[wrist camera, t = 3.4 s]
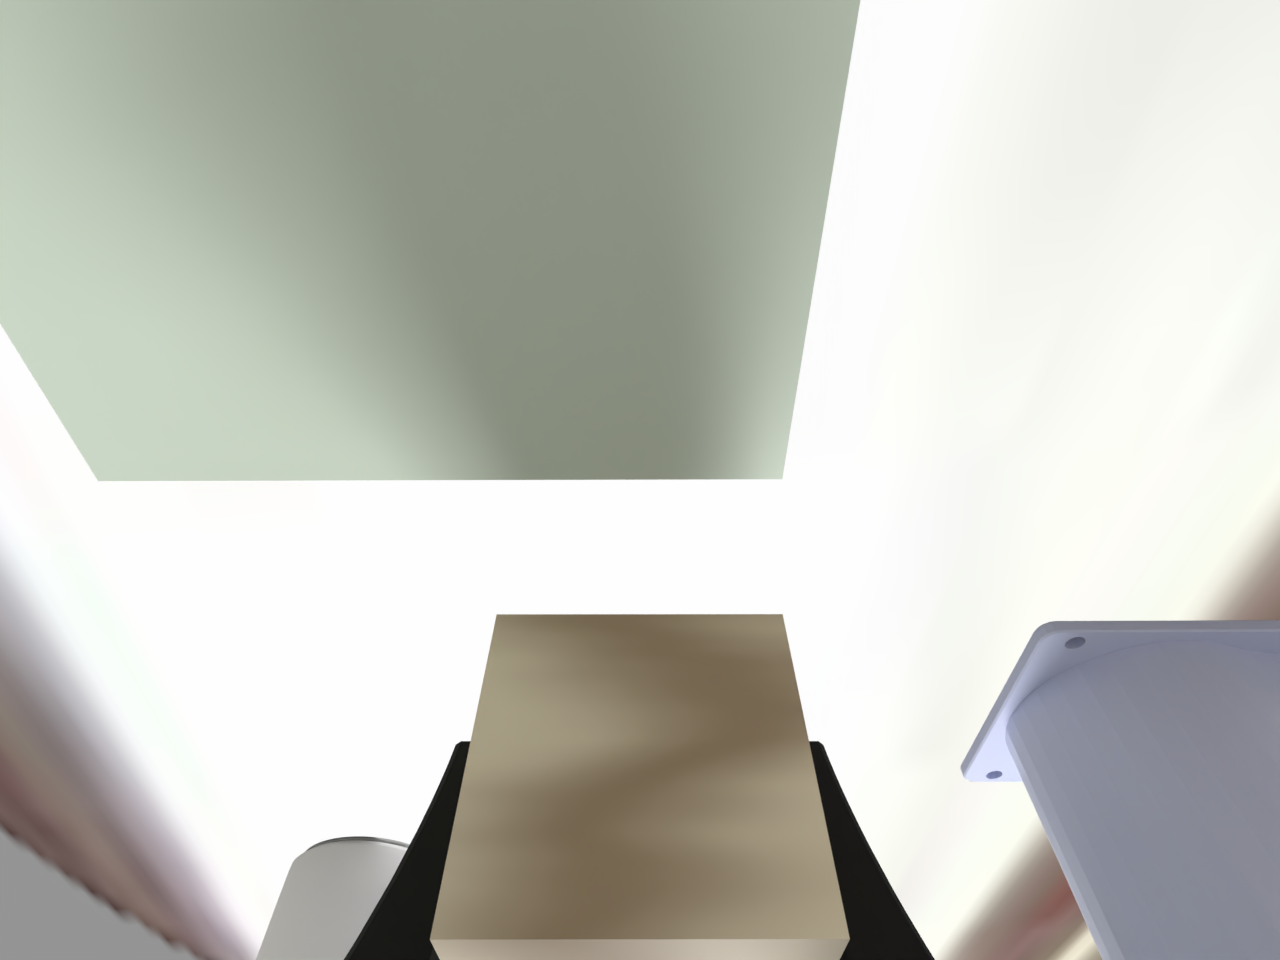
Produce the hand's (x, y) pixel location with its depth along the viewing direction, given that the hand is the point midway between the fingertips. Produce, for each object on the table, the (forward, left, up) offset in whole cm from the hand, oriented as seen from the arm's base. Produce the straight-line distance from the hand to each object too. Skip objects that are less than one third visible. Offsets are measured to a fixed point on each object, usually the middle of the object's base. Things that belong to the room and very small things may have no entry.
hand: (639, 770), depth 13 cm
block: (0, 0, -2) cm, 2 cm away
